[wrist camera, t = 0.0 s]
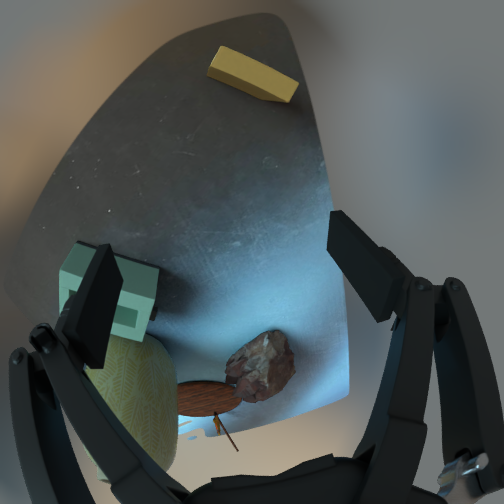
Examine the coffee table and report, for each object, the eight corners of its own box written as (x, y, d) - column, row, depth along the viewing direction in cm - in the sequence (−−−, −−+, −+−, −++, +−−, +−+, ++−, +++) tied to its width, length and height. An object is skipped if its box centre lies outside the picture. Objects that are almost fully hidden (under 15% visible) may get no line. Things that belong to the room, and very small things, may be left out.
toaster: (73, 286, 36) (59, 317, 30) (77, 240, 32) (59, 269, 26) (152, 310, 41) (148, 343, 36) (166, 268, 38) (163, 302, 32)
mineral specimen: (278, 328, 57) (228, 373, 55) (260, 311, 46) (199, 367, 45) (315, 366, 50) (261, 413, 48) (306, 358, 40) (237, 417, 38)
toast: (206, 75, 25) (209, 66, 17) (214, 61, 24) (221, 45, 16) (261, 100, 28) (288, 102, 19) (269, 85, 27) (299, 83, 18)
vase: (132, 380, 52) (131, 491, 30) (76, 338, 42) (52, 467, 20) (194, 360, 50) (208, 489, 28) (137, 308, 41) (125, 474, 18)
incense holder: (218, 371, 54) (225, 416, 45) (263, 411, 71) (271, 443, 62) (142, 392, 55) (142, 432, 46) (202, 427, 72) (206, 457, 63)
